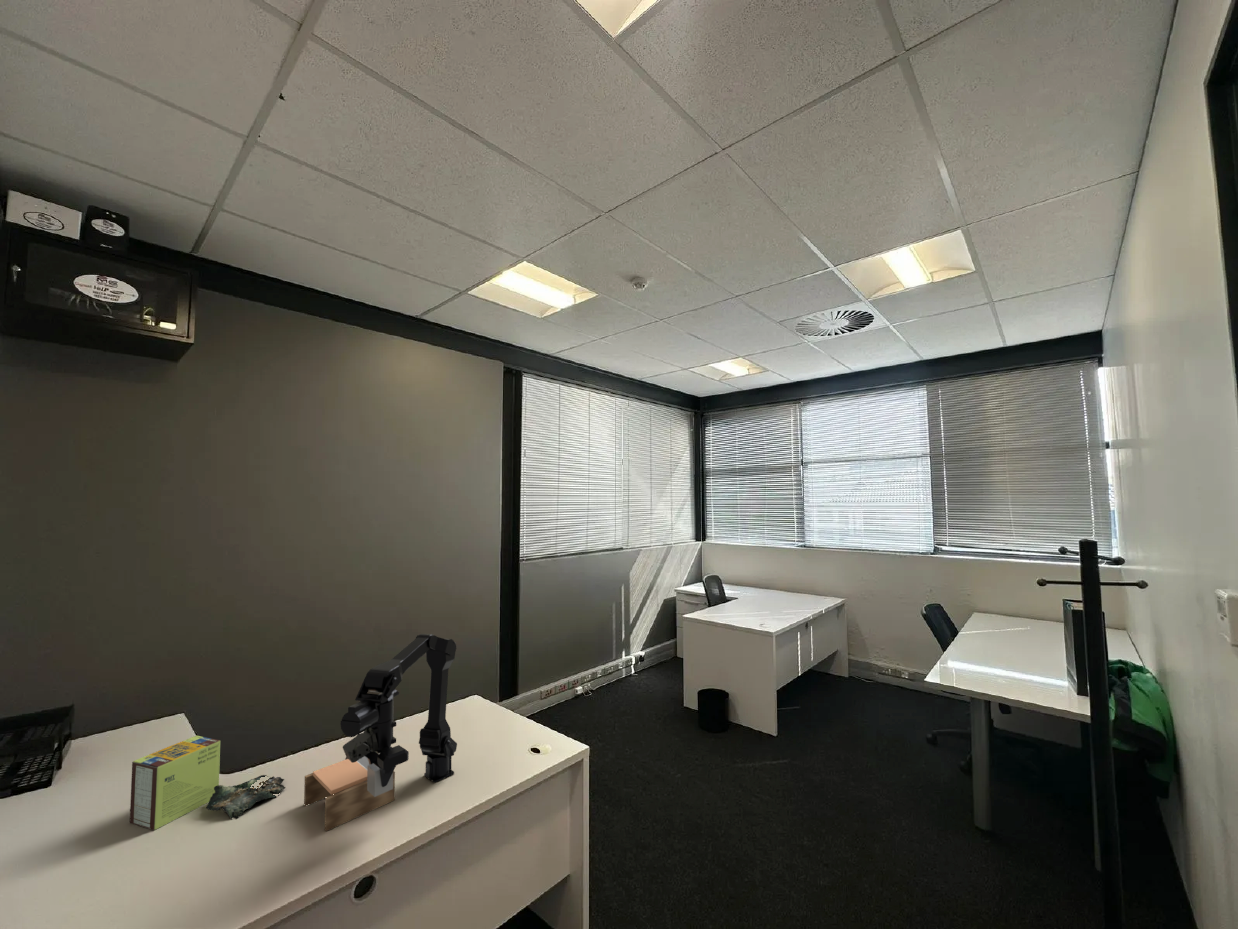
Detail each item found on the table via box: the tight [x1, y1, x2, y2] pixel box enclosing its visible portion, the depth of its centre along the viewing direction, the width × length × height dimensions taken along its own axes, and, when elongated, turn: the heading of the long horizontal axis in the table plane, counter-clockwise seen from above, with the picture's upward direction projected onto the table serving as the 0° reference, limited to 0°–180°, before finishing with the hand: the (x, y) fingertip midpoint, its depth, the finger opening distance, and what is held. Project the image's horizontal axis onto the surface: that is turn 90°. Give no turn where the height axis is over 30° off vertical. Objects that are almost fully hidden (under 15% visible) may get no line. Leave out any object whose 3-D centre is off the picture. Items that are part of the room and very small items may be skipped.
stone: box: [367, 763, 393, 797], centre depth 128 cm, size 4×4×6 cm
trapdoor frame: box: [303, 756, 396, 832], centre depth 138 cm, size 17×18×8 cm
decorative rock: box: [205, 774, 287, 820], centre depth 141 cm, size 19×6×15 cm
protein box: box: [129, 735, 221, 831], centre depth 137 cm, size 10×15×16 cm
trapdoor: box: [312, 756, 370, 795], centre depth 139 cm, size 15×14×4 cm
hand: (380, 782), depth 128 cm, fingers closed on stone, 4 cm apart
